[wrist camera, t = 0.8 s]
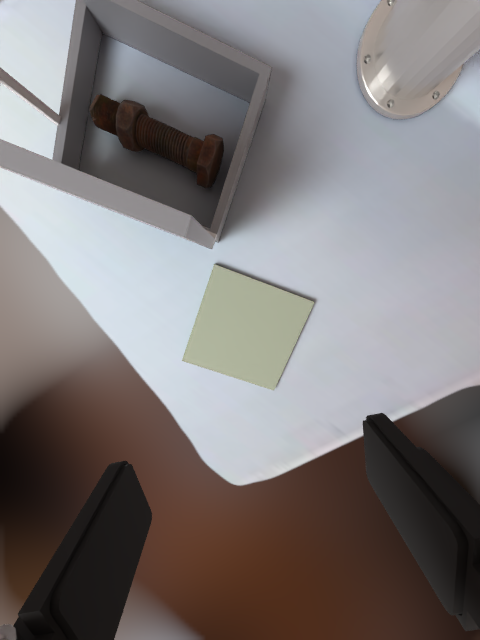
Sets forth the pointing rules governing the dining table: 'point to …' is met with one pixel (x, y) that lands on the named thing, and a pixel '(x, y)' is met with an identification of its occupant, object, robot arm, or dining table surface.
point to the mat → (246, 328)
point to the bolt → (158, 137)
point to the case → (88, 25)
